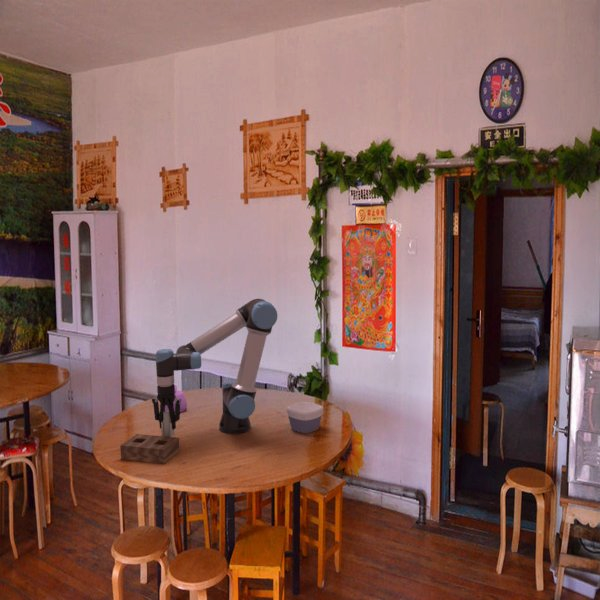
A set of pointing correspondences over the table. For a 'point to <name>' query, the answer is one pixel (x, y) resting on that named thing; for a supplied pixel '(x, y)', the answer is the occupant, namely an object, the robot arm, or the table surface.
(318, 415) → the lidded storage container
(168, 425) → the pin
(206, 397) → the table surface
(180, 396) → the teapot
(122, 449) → the block
